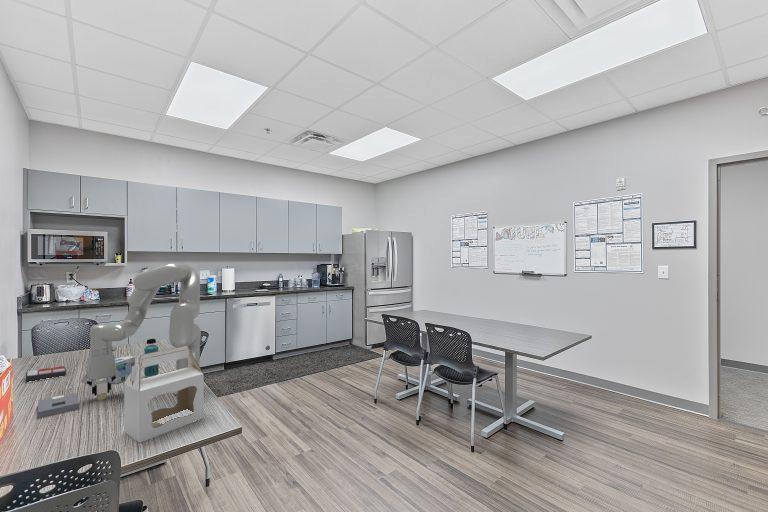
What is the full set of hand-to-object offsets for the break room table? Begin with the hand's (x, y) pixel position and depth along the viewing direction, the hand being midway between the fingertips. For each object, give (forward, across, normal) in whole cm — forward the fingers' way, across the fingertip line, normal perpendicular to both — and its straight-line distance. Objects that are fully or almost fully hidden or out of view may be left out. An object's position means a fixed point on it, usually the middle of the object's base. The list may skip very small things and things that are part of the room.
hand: (101, 393), depth 155 cm
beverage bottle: (+3, -22, -17) cm, 28 cm away
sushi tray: (+3, +17, -58) cm, 61 cm away
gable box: (+3, -14, +49) cm, 51 cm away
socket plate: (+2, +14, -1) cm, 14 cm away
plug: (+2, 0, 0) cm, 2 cm away
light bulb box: (+3, -10, -24) cm, 26 cm away
